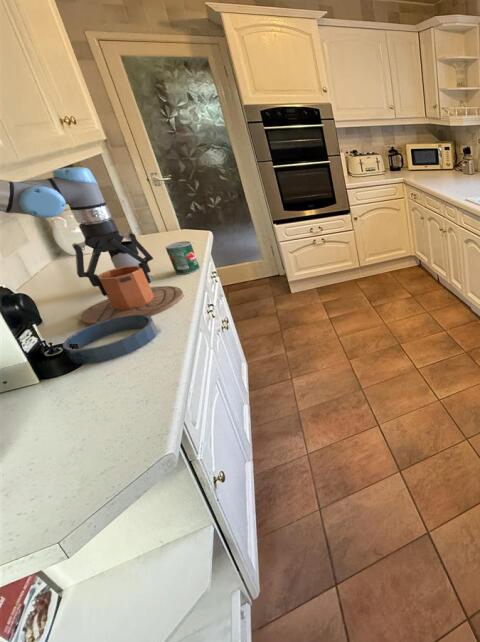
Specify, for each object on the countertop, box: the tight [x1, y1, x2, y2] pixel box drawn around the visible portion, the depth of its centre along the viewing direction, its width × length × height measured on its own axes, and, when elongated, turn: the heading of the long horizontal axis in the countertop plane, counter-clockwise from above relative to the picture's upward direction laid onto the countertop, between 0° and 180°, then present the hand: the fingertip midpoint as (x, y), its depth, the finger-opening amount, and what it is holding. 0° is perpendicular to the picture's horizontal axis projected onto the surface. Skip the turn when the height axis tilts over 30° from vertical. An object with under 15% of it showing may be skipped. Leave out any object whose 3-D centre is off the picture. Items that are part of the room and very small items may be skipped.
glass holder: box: [107, 240, 153, 281], centre depth 147 cm, size 9×14×15 cm, turn 30°
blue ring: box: [62, 315, 159, 365], centre depth 106 cm, size 17×17×6 cm
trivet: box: [80, 285, 185, 328], centre depth 128 cm, size 25×25×2 cm
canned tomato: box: [164, 240, 201, 275], centre depth 155 cm, size 8×8×11 cm
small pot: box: [97, 266, 154, 310], centre depth 126 cm, size 13×10×11 cm
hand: (127, 288), depth 126 cm, fingers closed on small pot, 10 cm apart
